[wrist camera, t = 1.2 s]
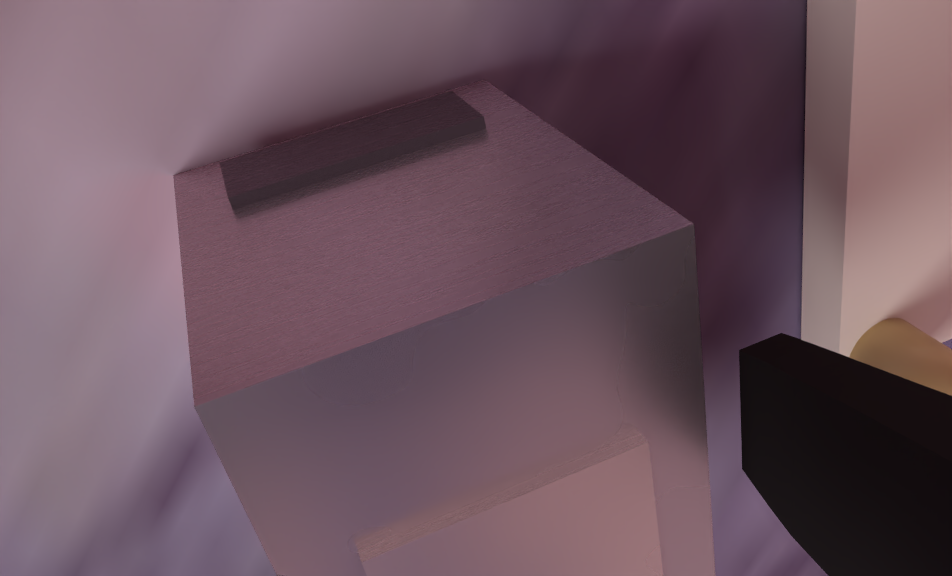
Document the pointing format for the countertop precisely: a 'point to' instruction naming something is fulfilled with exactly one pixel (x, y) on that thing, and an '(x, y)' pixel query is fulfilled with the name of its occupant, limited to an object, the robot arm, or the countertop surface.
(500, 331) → the mauve rectangular box
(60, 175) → the countertop surface
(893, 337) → the wooden peg board
